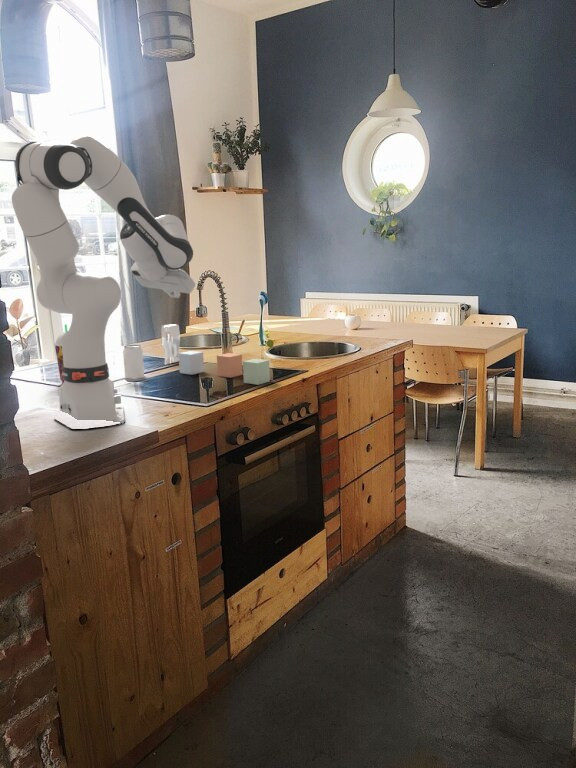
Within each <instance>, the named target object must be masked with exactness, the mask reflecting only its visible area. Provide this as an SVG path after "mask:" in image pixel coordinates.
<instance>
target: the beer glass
mask: <svg viewBox="0 0 576 768" xmlns="http://www.w3.org/2000/svg"><path fill="white" fill-rule="evenodd" d="M161 342H162V347H163V351H164V365H169V364H172V363H173V364H174V363H179V353H180V345H181V332H180V326H179V324H175V323H174V324H162V325H161Z"/></svg>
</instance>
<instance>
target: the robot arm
mask: <svg viewBox="0 0 576 768" xmlns="http://www.w3.org/2000/svg"><path fill="white" fill-rule="evenodd" d="M15 169H16V175H17V176H16V180H17V183H18V184H19V185H18V187H16V188H15V189H14V191H13V192H12V195H11V203H12V207H13V211H14V213H15V216H16V218H17V222H18V223H19V224H18V225H19V226H20V229H21V231H22V233H23V235H24V237H25V239H26V240H27V243H28V245H29V246H30V249H31V251H32V253H33V255H34V257H35V259H36V262H37V265H38V268H39V273H40V279H39V282H38V284H37V287H36V297H37V299H38V302H39V304H40V305H41V306H42V307H43V308H45V309H47V310H50V311H52V312H55V313H57V314H67V315H68V314H69V315H72V317H71V324H70V326H69V329H68V330H67V332H66V333H65V332H64V333H65V334H64V335H63V337H62V340H61V342H62V352H63V363H64V366H63V367H62V370H63V371H62V374H63V379H64V383H62V384H61V386H59V387H58V403H59V412H60V411H62V412H65V413H68V414H69V415H71V416H72V417H74V418H75V419H77V420H106V421H113V422H120V423H122V424H125V423H126V417H125V408H124V406H120V404H121V403H122V397H121V395H119V394H118V388H115V384H114V382H113V380H111V378H110V373H109V370H110V369H109V366H108V363H107V362H106V361H107V360H106V345H105V338H106V337H105V335H106V329H107V325H108V322H109V319H110V316H111V315H112V314H113V313H114V312H115V311H116V309H117V308H118V307H119V305H120V303H121V299H122V291H121V287H120V285H119V283H118V282H117V280H116V279H115V278H114V277H111V276H108V275H107V274H106V275H105V274H102V273H98V272H80V271H78V269H77V267H76V262H75V258H76V257H77V255H78V253H79V250H80V245H79V242H78V239H77V238H76V235H75V234H74V230H73V229H72V227H71V224H70V222H69V220H68V219H67V218H68V217H67V216H66V213H65V212H64V210H63V208H62V206H61V202H60V197H59V196H60V190H67V191H68V190H72V189H75V188H77V187H80V186H81V185H82V184H83V183H84V184H85V185H86V186H87V187H88V188H89V189H91V190H92V191H93V192H94V193H95V194H96V195H97V196H98V197H99V198H101V199H102V200H103V201H104V202H105V204H107V205H109V207H110V208H111V209H113V210H114V211H115V212H116V213H117V214H118V215H119V216H120V217H121V218H122V219H123V220H124V221H125V224H124V225H123V226H122V228H121V230H120V233H119V239H120V242H121V244H122V246H123V248H124V250H125V252H126V253H127V254H128V255H129V258H131V259H132V260H133V261H134V263H133V264H132V265H131V268H130V270H129V273H130V274H131V275H132V276H134V278H135V280H136V281H137V282H138V283H139V285H140V286H142V287H144V288H149V289H156V290H162V291H163V292H164V293H166V294H167V295H169V296H170V297H169V298H175V299H179V298H180V297H181V293H182V294H191V293H192V292H193V290H194V288H196V287H195V286H196V283H195V281H194V280H193V278H192V277H191V275H189V274H188V273H187V272H186V271H185V270H184V269H183V268H185V267H186V266H187V265H189V264H190V262H191V261H192V260H193V256H194V250H193V248H192V247H193V246H191V244H190V240H189V238H188V234H187V231H186V229H185V226H184V223H183V221H182V219H181V218H180V217H179V216H177V215H175V214H171V213H164V214H160V215H158V216H157V217H155V216H154V215H153V214H152V213H151V211H150V210H149V208H148V206H147V204H146V202H145V200H144V197H143V195H142V192H141V189H140V186H139V183H138V181H137V179H136V176H135V175H134V174H133V172H132V171H131V169H130V168H129V166H128V165H127V164H126V163H125V162H124V161H123V160H122V159H121V158H120V157H119V156H118V155H117V154H116V153H115V152H113V150H111V149H110V148H109V147H108V146H106V145H105V144H104V143H102V141H100V140H99V139H97V138H95V137H94V136H92V135H89V134H82V135H79V136H78V137H75V138H74V139H73V140H72V141H71V142H70V143H66V142H56V141H51V140H44V141H32V142H29V143H26V144H24V145H22V146H21V147H20V148H19V149H18V151H17V153H16V155H15ZM116 394H118V395H116ZM124 422H125V423H124Z"/></svg>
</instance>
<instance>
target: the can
mask: <svg viewBox="0 0 576 768" xmlns="http://www.w3.org/2000/svg"><path fill="white" fill-rule="evenodd" d="M122 353H123V355H122V357H123V368H124V369H123V370H124V378H125V381H126V382H127V383H138V382H140V380H134V379H141V378H145V367H144V353H143V349H142V346H141V345H140V344H128V345H123V350H122Z"/></svg>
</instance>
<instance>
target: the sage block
mask: <svg viewBox="0 0 576 768" xmlns="http://www.w3.org/2000/svg"><path fill="white" fill-rule="evenodd" d="M242 372H243V383H244V384H250V385H251V384H252V385H262V384H266V383H269V382H271V381H270V380H271V379H270V378H271V375H270V360H269V359H263V358H262V359H261V358H252V359H251V358H250V359H248V360H244V361H243V360H242Z"/></svg>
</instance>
